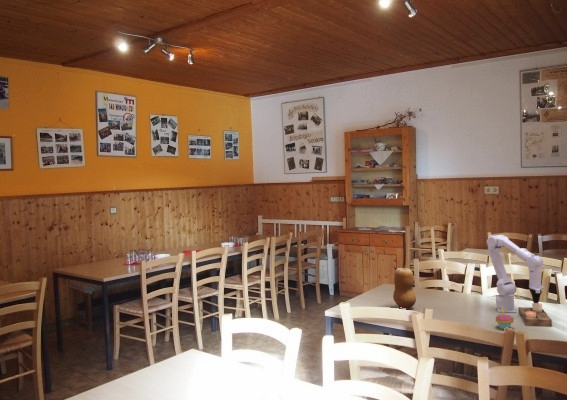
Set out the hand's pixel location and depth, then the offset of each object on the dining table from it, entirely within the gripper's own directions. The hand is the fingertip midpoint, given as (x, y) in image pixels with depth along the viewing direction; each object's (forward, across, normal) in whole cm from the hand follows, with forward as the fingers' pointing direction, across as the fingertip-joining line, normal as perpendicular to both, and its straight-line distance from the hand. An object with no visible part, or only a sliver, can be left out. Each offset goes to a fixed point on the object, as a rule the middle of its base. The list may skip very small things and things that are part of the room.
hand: (535, 302), depth 257 cm
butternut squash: (+9, +10, +71) cm, 72 cm away
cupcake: (+9, -20, +18) cm, 28 cm away
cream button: (+6, +2, -1) cm, 7 cm away
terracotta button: (+8, -8, +4) cm, 12 cm away
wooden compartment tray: (+8, -3, +2) cm, 9 cm away
